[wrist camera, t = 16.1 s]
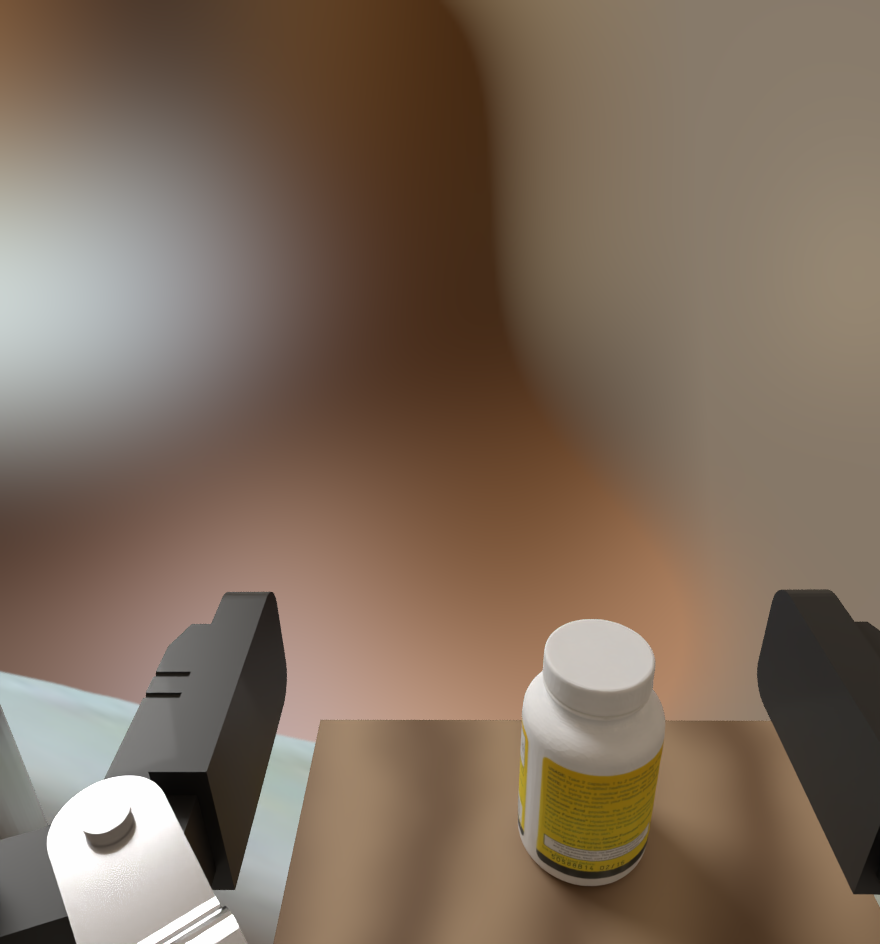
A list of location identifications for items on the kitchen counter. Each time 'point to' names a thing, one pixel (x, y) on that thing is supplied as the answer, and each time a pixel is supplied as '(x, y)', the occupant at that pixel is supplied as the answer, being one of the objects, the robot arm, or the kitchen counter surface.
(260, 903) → the kitchen counter surface
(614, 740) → the supplement bottle
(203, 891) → the robot arm
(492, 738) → the cubby
